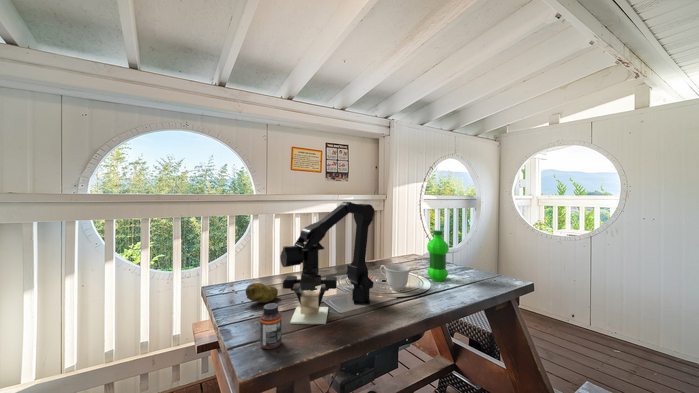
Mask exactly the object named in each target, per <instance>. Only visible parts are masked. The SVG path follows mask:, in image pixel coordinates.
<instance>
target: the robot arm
mask: <svg viewBox="0 0 699 393" xmlns="http://www.w3.org/2000/svg"><path fill="white" fill-rule="evenodd" d="M348 214H353V219H354V222H355V226H356V228H355V239H354V249H353V257H352V258H353V259H352V261H351V263H349V264H347V267H346V268H347V269H346V272H345V275H346V276H347V279H348V280H349V281H350V284H351V285H353V288H351V289H352V290H351V291H352V292H351V294H352V297H351V298H352V299H351V300H352V301H353V304H354V305H371V301H370V291H371V290H370V289H373V287H374V284H375V283H374V281H373V280H372V279H371V278H370V277H369V269H368V265H367V263H366V257H367V248H368V247H367V246H368V236H369V226H370V225H371V223H372V222H373V219H374V215H375V208H374V207H373V205H371V204H369V203H354V202H351V201H343V202H341V203H340V205H338V206H337V207H336V208H334V209H333V210H332V211H331V212H329V213H328V214H326V215H325V216H324V217H323V218H321V219H320V220H319V221H316V222H314V223H311V224H309V225H307V226H305V227H303V228H302V230H300V236H299V237H298V238H297V240H296V241H295V243H294V245H290V246H288V245H285V246H282V250H281V253H280V255H279V256H280V264H281V266H282V268H289V267H294V266H300V265H301V264H302V271H301V275H300V278H298V277H297V275H288V276H287V275H286V277H285V278H284V280H283V281H282V289H284V290H289V289H290V290H291V291H293V292H294V293H295V295H296V296H297V300H298V302H299V305H300V306H301V295H302V293H303V291H316V287H318V286H319V287H320V289H319V291H320V296H319V306H320V307H321V304H322V301H323V297H324V295H325V294H326V292H328V291H329V290H336V289H337V288H338V286H337V285H338V277H337V276H336V275H334V276H332V275H330V276H328V275H326V277H325V278H324V279H323V278H322V275H321V274H320V273H319V269H320V267H319V262H320V258H319V256H320V254H319V252H320V250H325V247H324V246H323V245H322V244H321V241H322V240H323V239H324V238H325V237H326V234H327V232H328V231H329V230H330V229H331V228H333V227H334V226H335V225H336V224H338V223H339V222H340V221H341V220H342V219H343V218H345V217H346V216H347V215H348Z"/></svg>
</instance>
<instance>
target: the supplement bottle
mask: <svg viewBox="0 0 699 393" xmlns="http://www.w3.org/2000/svg"><path fill="white" fill-rule="evenodd" d="M259 319H260V320H259V328H260V329H259V330H260V331H259V332H260V334H259V335H260V336H259V337H260V338H259V339H260V340H259V342H260V346H261V348H262V349H266V350H272V349H275V348H277V347H279V346H280V345H281V343H282V312H281V311H280V310H279V305H278V304H277V303H275V302H273V303H272V302H270V303H266V304H265V305H263V311H262V313H261V314H260V318H259Z"/></svg>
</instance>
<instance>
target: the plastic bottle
mask: <svg viewBox="0 0 699 393" xmlns="http://www.w3.org/2000/svg"><path fill="white" fill-rule="evenodd" d="M433 235H434V237H433V238H432V239H430V241H428V242H427V243H426V244H427V245H426V248H427V252H429V265H428V268H427V275H428V276H429V278H430V280H432V281H434V282H440V283H442V282H443V281H444V280H446V278H448V270H447V267H446V266H447V264H446V263H447V254H448V253H449V250H450V249H449V248H450V247H449V244H448V243H447V242H446V241H445V240H444V239H443V238H442V235H443V230H439V229H438V230H433Z"/></svg>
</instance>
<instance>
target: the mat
mask: <svg viewBox="0 0 699 393" xmlns="http://www.w3.org/2000/svg"><path fill="white" fill-rule="evenodd" d="M328 314H329V307H328V306H320V308H319V312H318V314H301V306H296V308H295V310H294V313H293V315H292V317H291V320H290V322H289V324H291V325H297V324H298V325H299V324H300V325H326V324H327V320H328Z"/></svg>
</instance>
